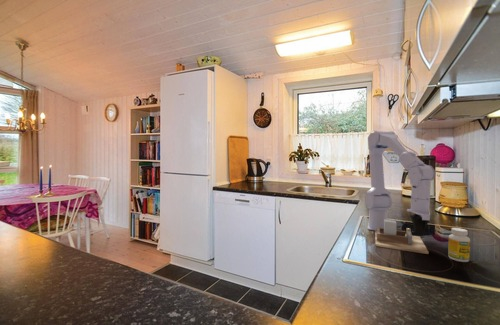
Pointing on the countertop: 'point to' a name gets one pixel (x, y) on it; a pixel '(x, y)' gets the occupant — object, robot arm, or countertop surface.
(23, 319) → the countertop surface
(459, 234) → the supplement bottle
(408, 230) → the gate
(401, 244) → the cradle board
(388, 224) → the link block
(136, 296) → the countertop surface
